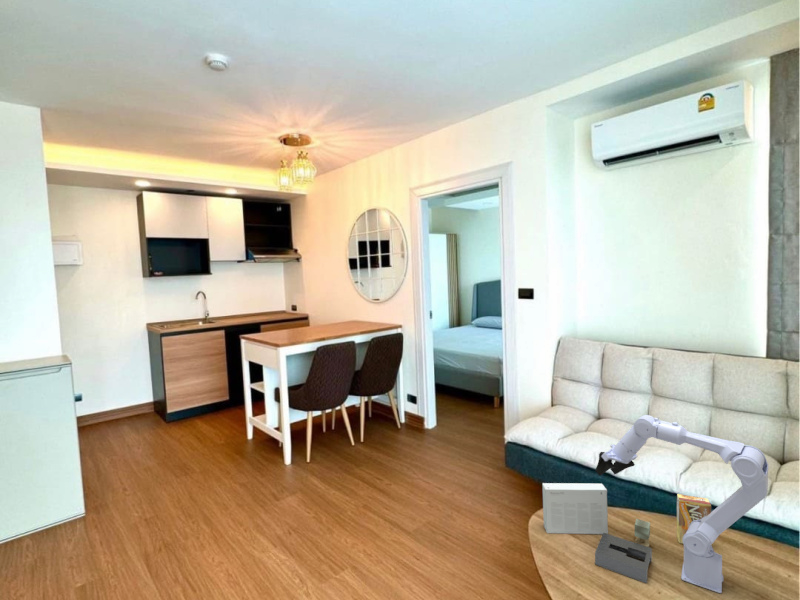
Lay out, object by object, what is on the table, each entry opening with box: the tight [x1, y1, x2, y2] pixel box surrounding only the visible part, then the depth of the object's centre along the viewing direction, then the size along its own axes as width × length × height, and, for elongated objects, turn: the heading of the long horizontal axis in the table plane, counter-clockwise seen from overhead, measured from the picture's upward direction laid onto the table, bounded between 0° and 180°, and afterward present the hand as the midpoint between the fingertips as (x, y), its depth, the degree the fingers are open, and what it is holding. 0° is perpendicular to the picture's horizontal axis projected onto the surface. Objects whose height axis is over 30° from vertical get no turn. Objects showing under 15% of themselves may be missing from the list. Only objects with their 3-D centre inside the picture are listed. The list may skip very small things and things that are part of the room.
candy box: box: [676, 493, 712, 545], centre depth 139 cm, size 9×4×15 cm, turn 67°
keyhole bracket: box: [594, 533, 653, 584], centre depth 131 cm, size 14×12×4 cm
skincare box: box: [542, 482, 609, 535], centre depth 149 cm, size 21×6×16 cm, turn 84°
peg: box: [634, 518, 651, 547], centre depth 140 cm, size 4×4×7 cm
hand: (605, 472), depth 141 cm, fingers open, 7 cm apart
